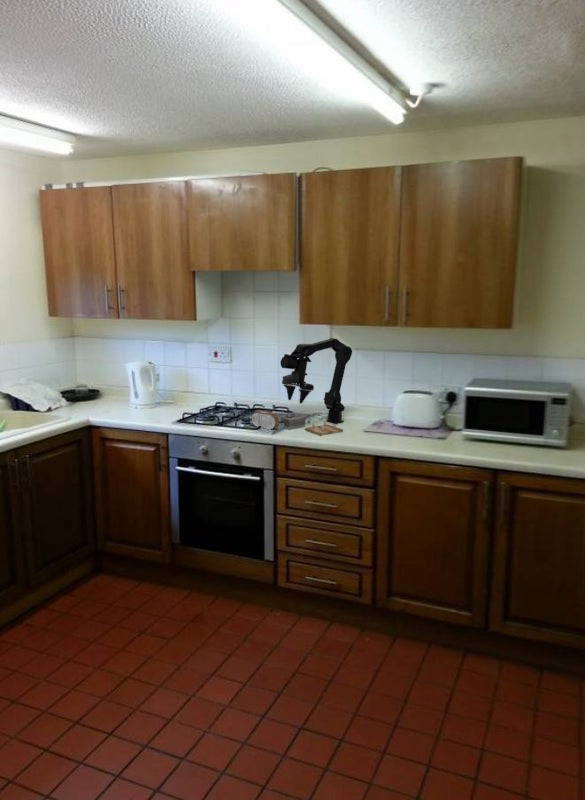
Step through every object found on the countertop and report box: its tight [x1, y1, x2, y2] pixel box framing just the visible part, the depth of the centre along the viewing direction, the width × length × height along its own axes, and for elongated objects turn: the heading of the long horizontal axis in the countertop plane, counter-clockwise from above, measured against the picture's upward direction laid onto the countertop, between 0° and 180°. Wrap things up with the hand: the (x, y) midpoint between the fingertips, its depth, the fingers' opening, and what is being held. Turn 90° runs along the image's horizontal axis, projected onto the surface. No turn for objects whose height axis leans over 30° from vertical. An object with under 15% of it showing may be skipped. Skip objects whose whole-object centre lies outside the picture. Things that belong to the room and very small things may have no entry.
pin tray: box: [304, 420, 344, 437], centre depth 310 cm, size 14×12×4 cm
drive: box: [283, 415, 306, 431], centre depth 315 cm, size 10×4×5 cm, turn 128°
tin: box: [250, 409, 280, 429], centre depth 313 cm, size 15×3×8 cm, turn 59°
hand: (294, 401), depth 313 cm, fingers open, 9 cm apart
